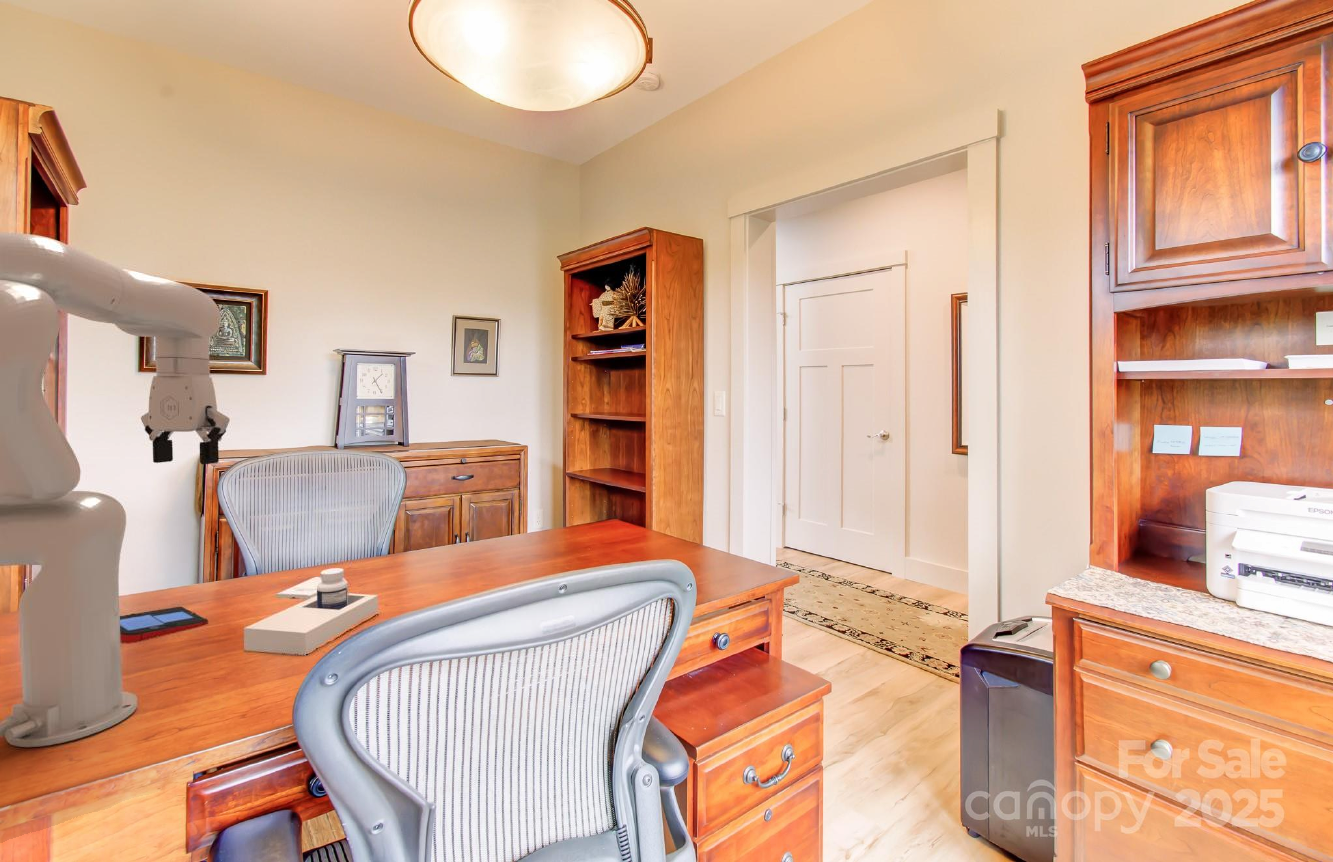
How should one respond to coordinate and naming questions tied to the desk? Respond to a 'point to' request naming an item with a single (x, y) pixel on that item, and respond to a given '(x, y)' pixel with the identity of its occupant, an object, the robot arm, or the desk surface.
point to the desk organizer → (306, 625)
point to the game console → (157, 623)
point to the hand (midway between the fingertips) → (186, 462)
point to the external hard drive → (302, 589)
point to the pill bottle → (332, 590)
